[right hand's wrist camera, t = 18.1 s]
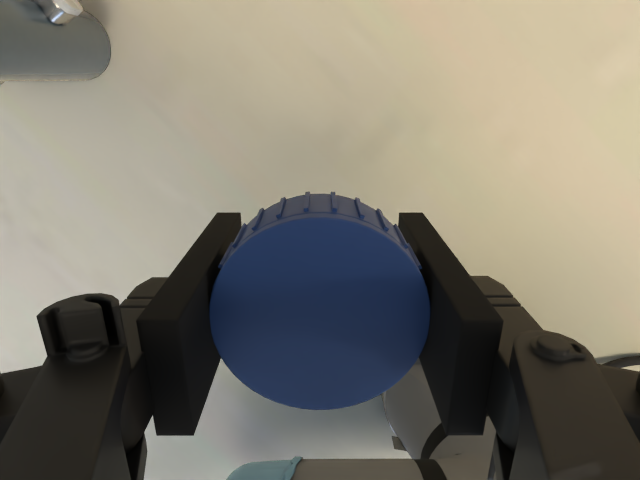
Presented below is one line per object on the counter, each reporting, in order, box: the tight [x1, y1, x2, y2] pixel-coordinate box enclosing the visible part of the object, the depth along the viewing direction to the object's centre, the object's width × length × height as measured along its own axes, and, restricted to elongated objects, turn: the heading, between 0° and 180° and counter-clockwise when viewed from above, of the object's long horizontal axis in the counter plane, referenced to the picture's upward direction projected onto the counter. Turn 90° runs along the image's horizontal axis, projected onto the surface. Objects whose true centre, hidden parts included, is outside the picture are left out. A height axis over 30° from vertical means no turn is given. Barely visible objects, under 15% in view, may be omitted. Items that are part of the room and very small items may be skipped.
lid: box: [209, 192, 431, 410], centre depth 11 cm, size 5×5×2 cm
